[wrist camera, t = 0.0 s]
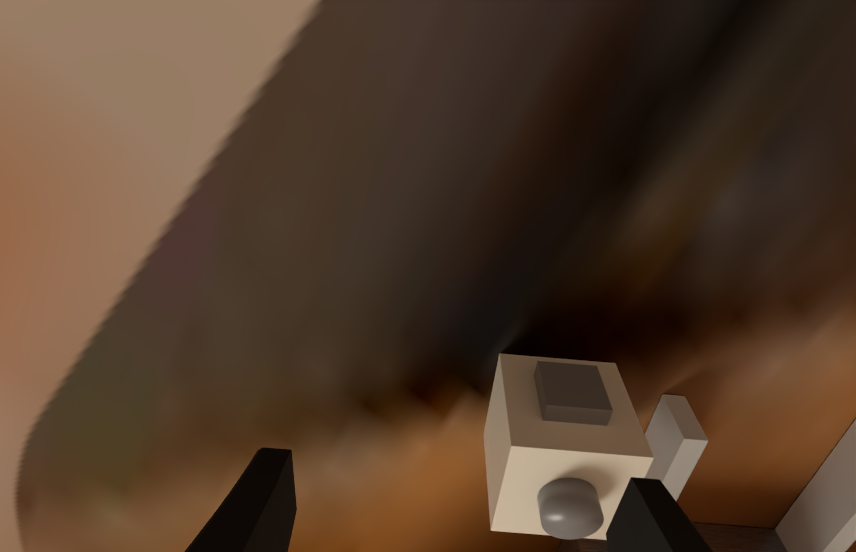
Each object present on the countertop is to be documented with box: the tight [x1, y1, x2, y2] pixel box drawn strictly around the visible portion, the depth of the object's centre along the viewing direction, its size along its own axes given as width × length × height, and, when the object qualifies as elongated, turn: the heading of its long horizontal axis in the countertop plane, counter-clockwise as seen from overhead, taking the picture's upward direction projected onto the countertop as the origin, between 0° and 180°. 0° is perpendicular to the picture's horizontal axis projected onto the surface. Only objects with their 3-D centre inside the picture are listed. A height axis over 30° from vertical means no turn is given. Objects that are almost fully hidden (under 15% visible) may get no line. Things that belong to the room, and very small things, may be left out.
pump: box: [484, 354, 654, 540], centre depth 21 cm, size 6×5×6 cm
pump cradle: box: [645, 394, 856, 552], centre depth 24 cm, size 9×11×2 cm
